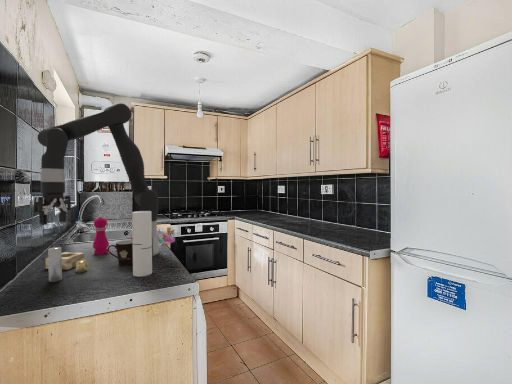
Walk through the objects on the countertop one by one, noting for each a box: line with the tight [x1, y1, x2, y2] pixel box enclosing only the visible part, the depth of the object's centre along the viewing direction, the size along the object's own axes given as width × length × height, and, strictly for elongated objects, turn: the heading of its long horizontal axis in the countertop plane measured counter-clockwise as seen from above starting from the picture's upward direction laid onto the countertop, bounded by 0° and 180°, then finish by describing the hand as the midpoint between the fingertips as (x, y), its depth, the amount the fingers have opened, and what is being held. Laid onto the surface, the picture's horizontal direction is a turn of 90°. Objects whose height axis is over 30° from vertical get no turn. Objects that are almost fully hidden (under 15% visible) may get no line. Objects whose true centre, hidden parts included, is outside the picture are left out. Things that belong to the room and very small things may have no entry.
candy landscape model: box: [130, 226, 176, 247], centre depth 167 cm, size 25×24×9 cm
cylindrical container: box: [131, 210, 153, 277], centre depth 110 cm, size 7×7×25 cm
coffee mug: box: [107, 239, 133, 267], centre depth 123 cm, size 12×9×10 cm
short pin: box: [75, 259, 88, 273], centre depth 114 cm, size 4×4×4 cm
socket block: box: [45, 251, 86, 270], centre depth 121 cm, size 10×10×4 cm
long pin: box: [47, 246, 63, 283], centre depth 103 cm, size 4×4×12 cm
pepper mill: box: [92, 214, 110, 256], centre depth 141 cm, size 7×7×20 cm
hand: (53, 223), depth 105 cm, fingers open, 8 cm apart
